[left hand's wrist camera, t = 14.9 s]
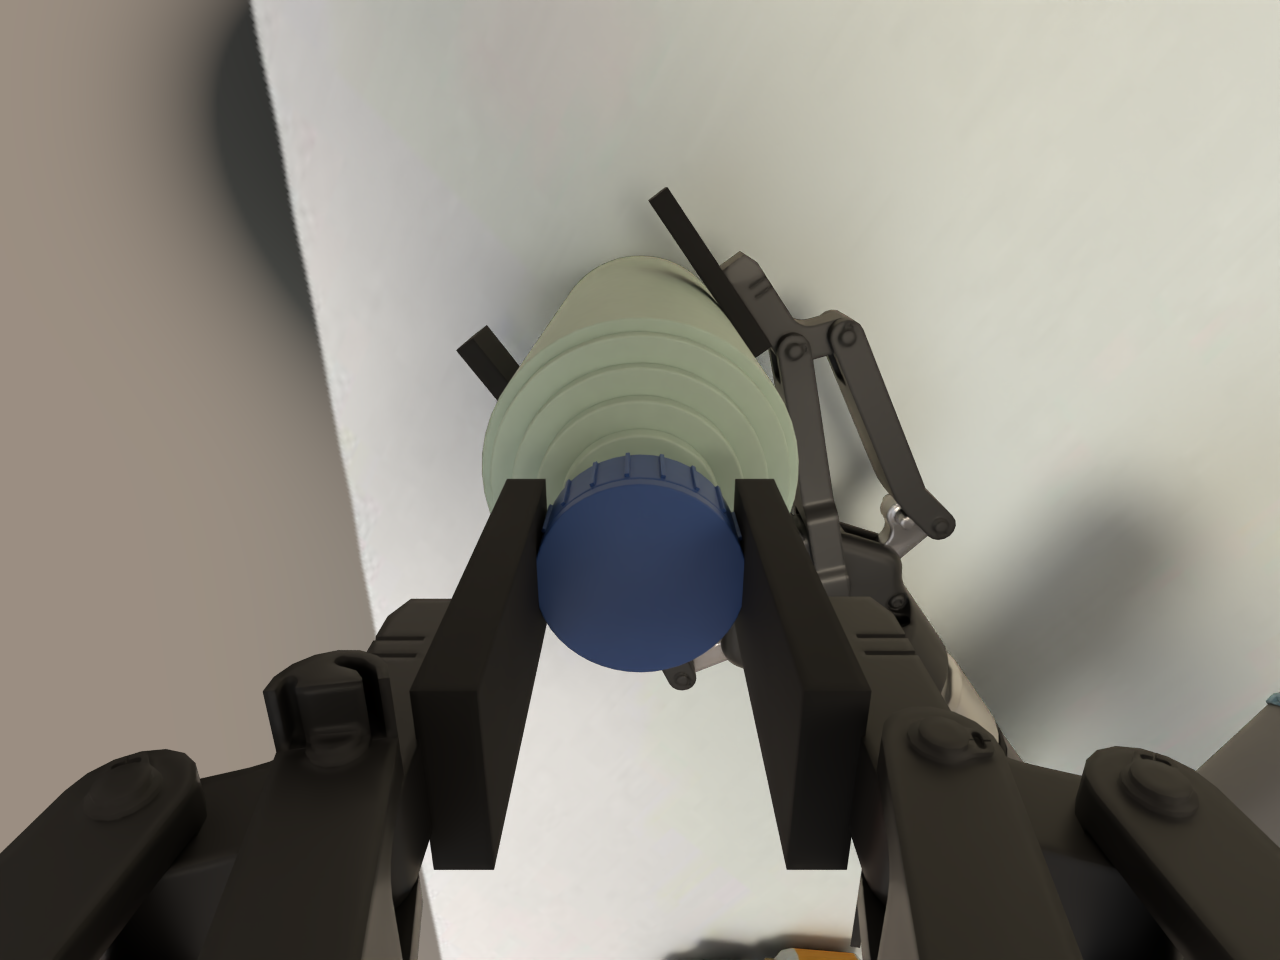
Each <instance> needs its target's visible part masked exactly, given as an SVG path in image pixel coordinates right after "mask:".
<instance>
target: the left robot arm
mask: <svg viewBox="0 0 1280 960" xmlns="http://www.w3.org/2000/svg"><path fill="white" fill-rule="evenodd" d="M733 512H735V515H736V518H737V522H738V525H739V529H740V532H741V535H742V540H741V541H740V543H741V547H742V550H743V554H744V577H743V594H742V607H741V610H740V612H739V614H738V617H737V618H736V620H735V622H734V626H735V631H736V635H737V640H738V645H739V649H740V654H741V659H742V663H743V668H744V673H745V677H746V682H747V687H748V691H749V696H750V701H751V705H752V710H753V715H754V719H755V724H756V729H757V733H758V738H759V743H760V747H761V752H762V757H763V761H764V766H765V771H766V775H767V780H768V785H769V789H770V794H771V799H772V803H773V808H774V813H775V817H776V822H777V827H778V831H779V836H780V840H781V845H782V850H783V854H784V859H785V864H786V868H787V870H847V865H848V858H849V851H850V844H851V837H852V840H853V843H854V846H855V849H856V852H857V855H858V858H859V861H860V864H861V868H862V872H861V878H860V885H859V892H858V898H857V905H856V912H855V919H854V925H853V932H852V939H851V946H852V947H858V948H860V945H861V947H862V958H863V960H1280V848H1279V847H1278V846H1277V845H1276V844H1275V843H1274V842H1273V841H1272V840H1271V839H1270V838H1269V837H1268V836H1267V835H1266V834H1265V833H1264V832H1263V831H1262V830H1261V829H1260V828H1259V827H1258V826H1257V825H1256V824H1254V823H1253V822H1252V821H1251V820H1250V819H1249V818H1248V817H1247V816H1246V815H1245V814H1244V813H1243V812H1242V811H1241V810H1240V809H1239V808H1238V807H1237V806H1236V805H1235V804H1234V803H1233V802H1232V801H1231V800H1230V799H1229V798H1228V797H1226V796H1225V795H1224V794H1223V793H1222V792H1221V791H1220V790H1219V789H1218V788H1217V787H1216V786H1214V785H1213V784H1212V783H1211V782H1209V781H1208V780H1207V779H1205V778H1204V777H1203V776H1201V775H1200V774H1199V773H1198V772H1196V771H1195V770H1193V769H1191V768H1189V767H1187V766H1185V765H1183V764H1181V763H1179V762H1177V761H1175V760H1173V759H1171V758H1169V757H1167V756H1164V755H1160V754H1158V753H1154V752H1151V751H1147V750H1144V749H1141V748H1130V747H1120V746H1114V747H1110V748H1105V749H1100V750H1097V751H1096V752H1095V753H1093V754H1092V755H1091V756H1090V757H1089V758H1088V759H1087V760H1086V763H1085V767H1084V771H1083V774H1082V776H1080V775H1075V774H1071V773H1066V772H1062V771H1057V770H1053V769H1049V768H1044V767H1040V766H1035V765H1031V764H1028V763H1024V762H1021V761H1017V760H1014V759H1011V758H1009V757H1007V756H1005V753H1004V751H1003V749H1002V748H1001V746H1000V745H999V743H998V742H997V740H996V739H995V737H994V736H993V735H992V734H991V733H989V732H988V731H987V730H986V729H984V728H983V727H982V726H981V725H979V724H978V723H977V722H975V721H973V720H971V719H969V718H967V717H965V716H962V715H960V714H958V713H956V712H953V711H951V710H950V708H949V706H948V705H947V703H946V701H945V700H944V698H943V696H942V695H941V693H940V691H939V690H938V688H937V686H936V685H935V683H934V681H933V680H932V678H931V676H930V675H929V673H928V671H927V669H926V668H925V666H924V664H923V663H922V661H921V659H920V658H919V656H918V655H916V654H915V649H914V648H913V646H912V644H911V643H910V641H909V639H908V638H906V637H905V633H904V631H903V629H902V628H901V626H900V624H899V622H898V621H897V619H896V617H895V616H894V614H893V613H891V612H890V611H889V610H887V609H886V608H885V607H883V606H882V605H881V604H879V603H878V602H877V601H875V600H874V599H873V598H871V597H828V595H827V593H826V591H825V589H824V586H823V584H822V582H821V580H820V578H819V576H818V573H817V571H816V569H815V567H814V565H813V563H812V560H811V558H810V556H809V554H808V552H807V549H806V547H805V545H804V543H803V541H802V539H801V536H800V534H799V532H798V530H797V528H796V526H795V523H794V521H793V519H792V517H791V515H790V513H789V510H788V508H787V506H786V504H785V502H784V500H783V497H782V495H781V493H780V491H779V489H778V487H777V484H776V482H775V480H774V479H735V491H734V511H733ZM546 513H547V496H546V479H507V480H506V482H505V484H504V486H503V488H502V490H501V493H500V495H499V497H498V499H497V501H496V503H495V506H494V508H493V510H492V512H491V514H490V517H489V519H488V521H487V523H486V525H485V527H484V530H483V532H482V534H481V536H480V538H479V540H478V543H477V545H476V547H475V549H474V551H473V553H472V556H471V558H470V560H469V562H468V564H467V566H466V569H465V571H464V573H463V575H462V577H461V579H460V582H459V584H458V586H457V588H456V590H455V593H454V595H453V597H452V599H410V600H409V601H407V602H406V603H405V604H403V605H402V606H401V607H399V608H398V609H397V610H395V611H394V612H393V613H391V614H390V615H389V616H388V617H387V618H386V620H385V622H384V623H383V625H382V627H381V629H380V630H379V632H378V634H377V635H376V640H375V641H373V642H372V644H371V646H370V647H369V649H368V651H367V652H364V651H360V650H337V651H332V652H327V653H322V654H317V655H314V656H311V657H309V658H306V659H304V660H301V661H299V662H297V663H294V664H292V665H291V666H289V667H288V668H286V669H285V670H283V671H282V672H280V673H279V674H277V675H276V676H275V677H273V679H272V680H271V681H270V683H269V684H268V685H267V687H266V688H265V689H264V691H263V695H264V699H265V704H266V708H267V712H268V717H269V721H270V726H271V730H272V734H273V739H274V743H275V748H276V755H275V757H274V760H272V761H270V762H267V763H264V764H260V765H257V766H253V767H250V768H246V769H241V770H237V771H233V772H228V773H224V774H219V775H215V776H210V777H206V778H201V779H200V778H199V774H198V771H197V767H196V763H195V762H194V761H193V760H192V759H191V758H189V757H188V756H187V755H186V754H185V753H182V752H177V751H172V750H168V749H162V750H152V751H142V752H138V753H135V754H132V755H128V756H125V757H122V758H118V759H115V760H113V761H111V762H109V763H107V764H105V765H103V766H101V767H99V768H97V769H95V770H93V771H91V772H89V773H87V774H86V775H85V776H83V777H82V778H81V779H80V780H78V781H77V782H76V783H74V784H73V785H72V786H70V787H69V788H68V789H67V790H65V791H64V792H63V793H62V794H61V795H60V796H59V797H58V798H57V799H56V800H55V801H54V802H53V803H52V804H51V805H50V806H49V807H48V808H47V809H46V810H45V811H44V812H43V813H42V814H41V815H39V816H38V817H37V818H36V819H35V820H34V821H33V822H32V823H31V824H30V825H29V826H28V827H27V828H26V829H25V830H24V831H23V832H22V833H21V834H20V835H19V836H18V837H17V838H16V839H15V840H14V841H13V842H12V843H11V844H10V845H9V846H8V847H7V848H6V849H4V850H3V851H2V852H1V853H0V960H417V959H418V949H419V938H420V928H421V917H422V907H423V899H422V892H421V885H420V878H419V871H420V868H421V864H422V861H423V858H424V855H425V852H426V849H427V846H428V843H429V840H430V845H431V852H432V860H433V867H434V870H494V867H495V863H496V858H497V853H498V849H499V844H500V839H501V835H502V830H503V825H504V821H505V816H506V811H507V807H508V802H509V797H510V793H511V788H512V783H513V779H514V774H515V769H516V765H517V760H518V755H519V751H520V746H521V741H522V737H523V732H524V727H525V723H526V718H527V713H528V709H529V704H530V699H531V695H532V690H533V685H534V681H535V676H536V671H537V667H538V662H539V657H540V653H541V648H542V643H543V639H544V634H545V629H546V625H547V622H546V621H545V619H544V617H543V615H542V613H541V611H540V608H539V598H538V581H537V562H536V556H537V553H538V550H539V546H540V542H541V539H542V535H543V532H541V530H542V527H543V523H544V520H545V516H546Z"/></svg>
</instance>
